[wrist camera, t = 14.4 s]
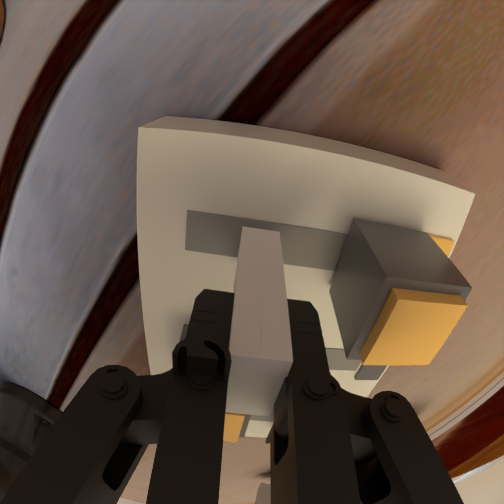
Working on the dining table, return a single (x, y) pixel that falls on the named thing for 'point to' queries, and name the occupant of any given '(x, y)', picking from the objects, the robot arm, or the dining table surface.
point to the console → (269, 221)
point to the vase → (1, 16)
